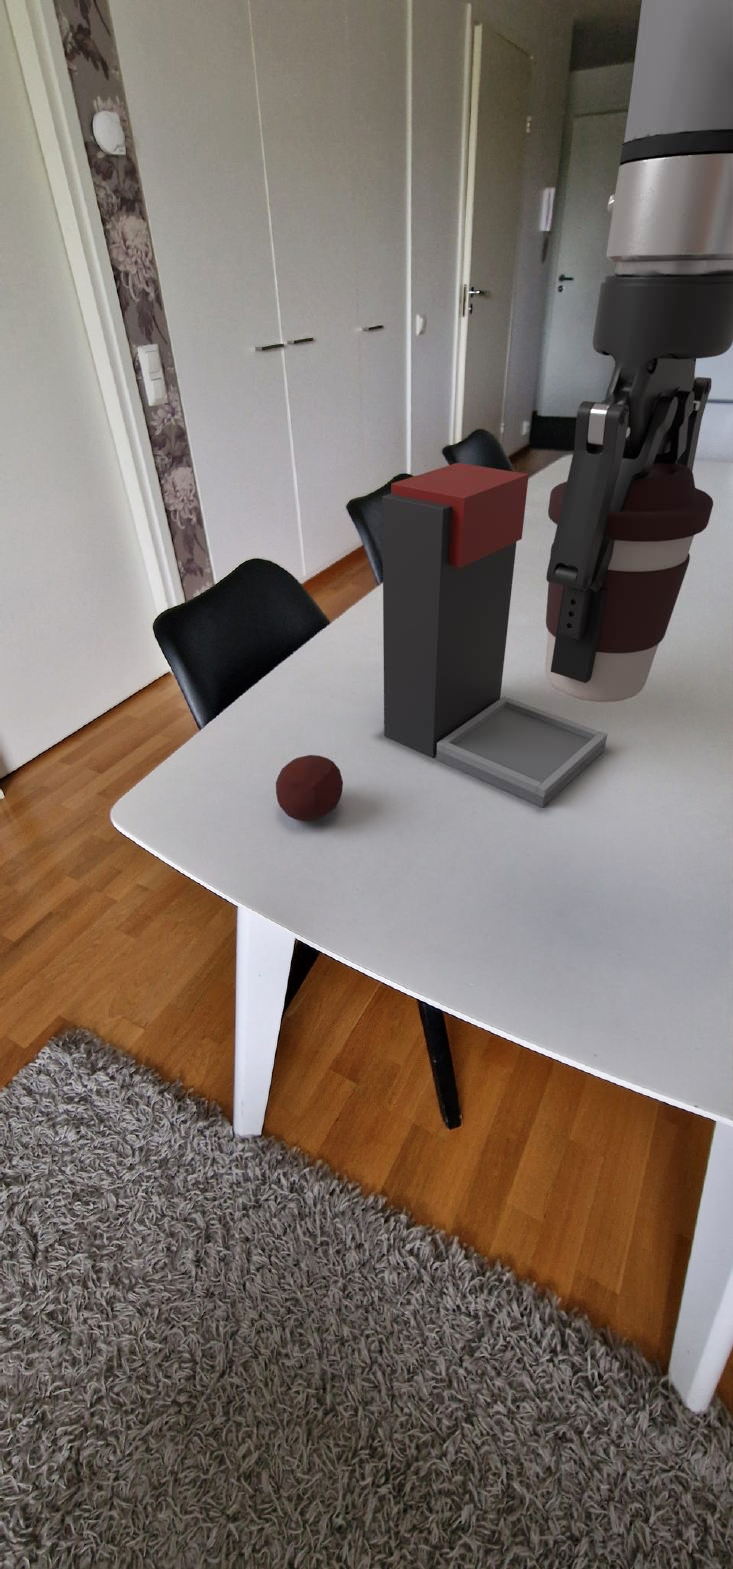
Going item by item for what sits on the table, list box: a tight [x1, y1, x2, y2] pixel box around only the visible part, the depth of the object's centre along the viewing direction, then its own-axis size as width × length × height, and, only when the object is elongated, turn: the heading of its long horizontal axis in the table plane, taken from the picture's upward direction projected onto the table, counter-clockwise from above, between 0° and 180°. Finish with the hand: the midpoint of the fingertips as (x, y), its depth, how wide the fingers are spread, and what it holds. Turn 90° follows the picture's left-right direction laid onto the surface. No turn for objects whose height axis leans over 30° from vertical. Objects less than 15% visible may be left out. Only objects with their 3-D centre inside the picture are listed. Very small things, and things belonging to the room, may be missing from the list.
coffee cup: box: [544, 462, 714, 703], centre depth 48 cm, size 10×10×15 cm
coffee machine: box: [381, 462, 608, 808], centre depth 81 cm, size 24×15×31 cm, turn 49°
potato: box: [275, 754, 344, 822], centre depth 77 cm, size 7×8×7 cm
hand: (599, 652), depth 51 cm, fingers closed on coffee cup, 8 cm apart
